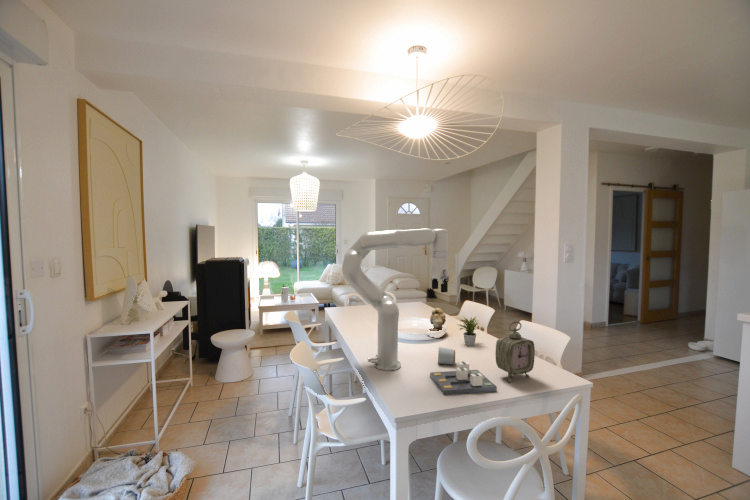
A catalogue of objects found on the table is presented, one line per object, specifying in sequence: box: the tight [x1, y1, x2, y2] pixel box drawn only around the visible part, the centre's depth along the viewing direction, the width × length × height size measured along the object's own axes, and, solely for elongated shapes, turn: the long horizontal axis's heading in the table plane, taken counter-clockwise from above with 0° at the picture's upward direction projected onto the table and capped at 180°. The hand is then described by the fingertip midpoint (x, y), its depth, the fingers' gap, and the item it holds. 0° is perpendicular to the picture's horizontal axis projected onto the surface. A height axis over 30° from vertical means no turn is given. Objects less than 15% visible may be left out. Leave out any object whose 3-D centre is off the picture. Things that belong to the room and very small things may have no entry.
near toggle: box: [470, 372, 483, 386], centre depth 133 cm, size 4×2×4 cm, turn 99°
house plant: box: [456, 316, 482, 347], centre depth 190 cm, size 14×14×16 cm
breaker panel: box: [429, 369, 498, 396], centre depth 139 cm, size 22×17×3 cm
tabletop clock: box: [494, 321, 536, 383], centre depth 145 cm, size 14×9×25 cm, turn 114°
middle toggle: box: [455, 367, 468, 380], centre depth 139 cm, size 4×2×4 cm, turn 99°
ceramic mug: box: [437, 346, 456, 365], centre depth 162 cm, size 11×8×8 cm
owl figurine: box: [429, 307, 447, 340], centre depth 208 cm, size 18×12×17 cm, turn 0°
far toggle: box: [457, 360, 470, 373], centre depth 145 cm, size 4×2×4 cm, turn 99°
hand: (439, 290), depth 159 cm, fingers open, 9 cm apart
